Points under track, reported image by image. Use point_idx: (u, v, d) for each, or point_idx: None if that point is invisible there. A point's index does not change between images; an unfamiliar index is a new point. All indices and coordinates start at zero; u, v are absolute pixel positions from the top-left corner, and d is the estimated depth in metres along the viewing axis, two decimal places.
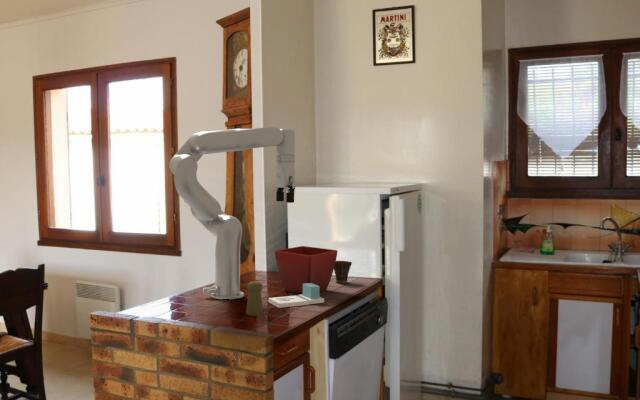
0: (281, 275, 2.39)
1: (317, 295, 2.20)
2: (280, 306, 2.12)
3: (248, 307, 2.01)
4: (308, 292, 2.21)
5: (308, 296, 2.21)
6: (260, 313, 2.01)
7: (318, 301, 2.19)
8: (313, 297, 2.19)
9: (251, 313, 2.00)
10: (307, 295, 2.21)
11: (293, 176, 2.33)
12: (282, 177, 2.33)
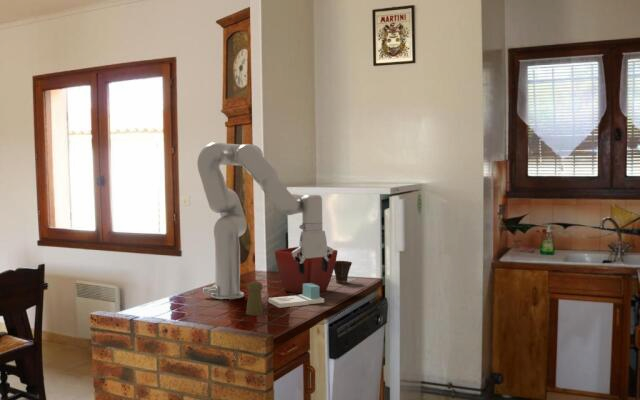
0: (281, 275, 2.39)
1: (317, 295, 2.20)
2: (280, 306, 2.12)
3: (248, 307, 2.01)
4: (308, 292, 2.21)
5: (308, 296, 2.21)
6: (260, 313, 2.01)
7: (318, 301, 2.19)
8: (313, 297, 2.19)
9: (251, 313, 2.00)
10: (307, 295, 2.21)
11: None
12: (323, 246, 2.21)
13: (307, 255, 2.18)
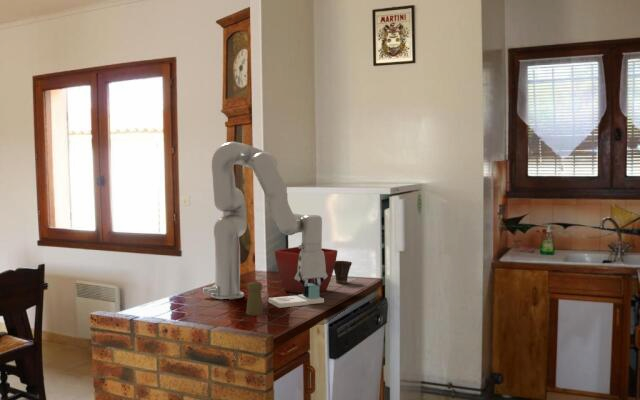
0: (281, 275, 2.39)
1: (317, 295, 2.20)
2: (280, 306, 2.12)
3: (248, 307, 2.01)
4: (308, 292, 2.21)
5: (308, 296, 2.21)
6: (260, 313, 2.01)
7: (318, 301, 2.19)
8: (313, 297, 2.19)
9: (251, 313, 2.00)
10: None
11: None
12: (321, 267, 2.21)
13: (305, 275, 2.18)
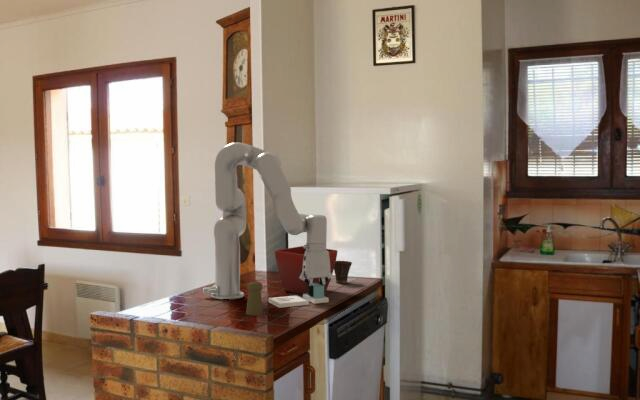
0: (281, 275, 2.39)
1: (322, 295, 2.21)
2: (280, 306, 2.12)
3: (248, 307, 2.01)
4: (313, 291, 2.22)
5: (313, 296, 2.22)
6: (260, 313, 2.01)
7: (323, 301, 2.20)
8: (318, 297, 2.20)
9: (251, 313, 2.00)
10: None
11: None
12: (326, 266, 2.22)
13: (310, 275, 2.19)
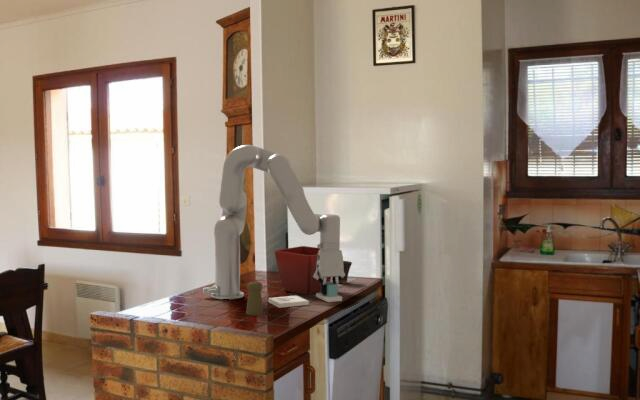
0: (281, 275, 2.39)
1: (335, 293, 2.24)
2: (280, 306, 2.12)
3: (248, 307, 2.01)
4: None
5: None
6: (260, 313, 2.01)
7: (336, 299, 2.22)
8: (331, 295, 2.23)
9: (251, 313, 2.00)
10: None
11: None
12: (340, 265, 2.25)
13: (324, 274, 2.22)
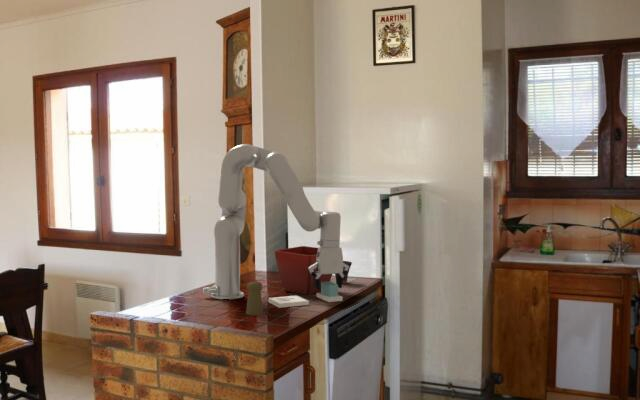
0: (281, 275, 2.39)
1: (336, 293, 2.24)
2: (280, 306, 2.12)
3: (248, 307, 2.01)
4: (327, 290, 2.24)
5: (327, 294, 2.24)
6: (260, 313, 2.01)
7: (337, 299, 2.22)
8: (332, 295, 2.23)
9: (251, 313, 2.00)
10: (326, 293, 2.25)
11: None
12: (339, 263, 2.25)
13: (323, 271, 2.22)
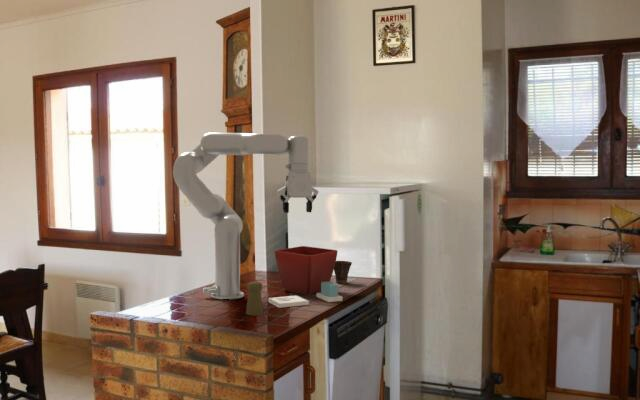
0: (281, 275, 2.39)
1: (336, 293, 2.24)
2: (280, 306, 2.12)
3: (248, 307, 2.01)
4: (327, 290, 2.24)
5: (327, 294, 2.24)
6: (260, 313, 2.01)
7: (337, 299, 2.22)
8: (332, 295, 2.23)
9: (251, 313, 2.00)
10: (326, 293, 2.25)
11: None
12: (308, 186, 2.26)
13: (292, 194, 2.23)
